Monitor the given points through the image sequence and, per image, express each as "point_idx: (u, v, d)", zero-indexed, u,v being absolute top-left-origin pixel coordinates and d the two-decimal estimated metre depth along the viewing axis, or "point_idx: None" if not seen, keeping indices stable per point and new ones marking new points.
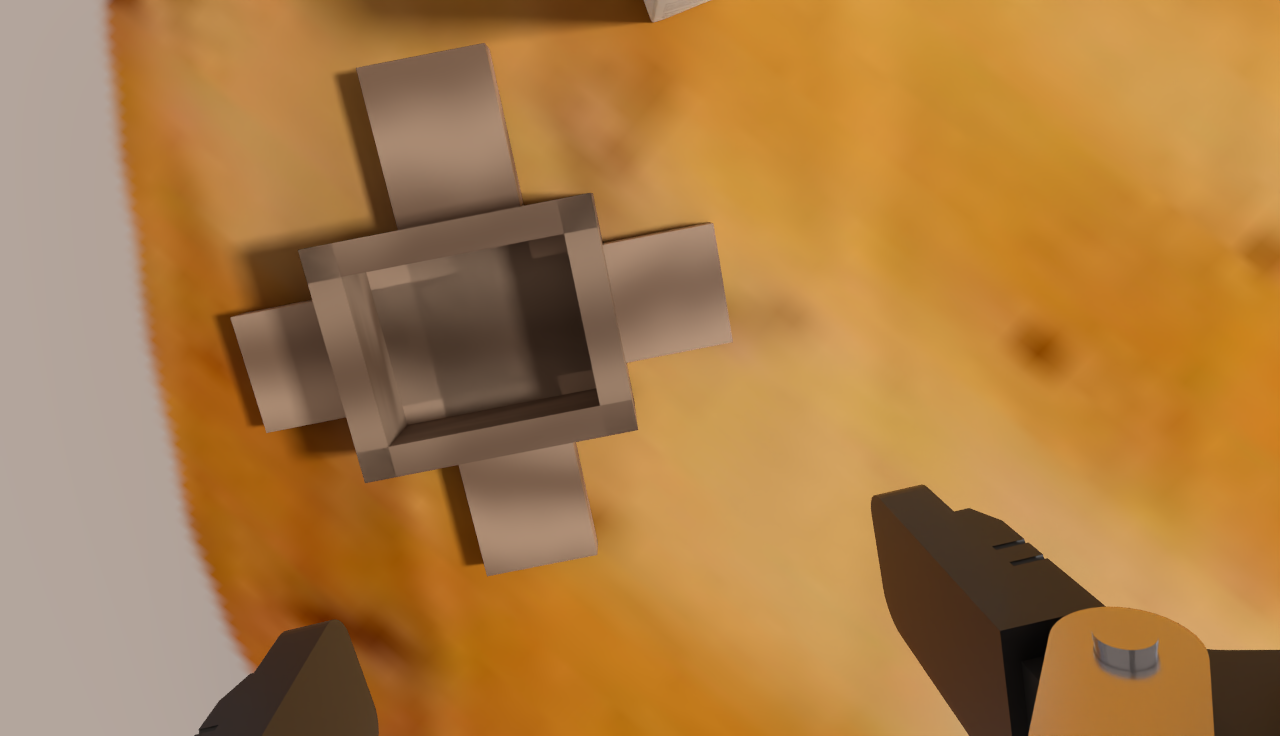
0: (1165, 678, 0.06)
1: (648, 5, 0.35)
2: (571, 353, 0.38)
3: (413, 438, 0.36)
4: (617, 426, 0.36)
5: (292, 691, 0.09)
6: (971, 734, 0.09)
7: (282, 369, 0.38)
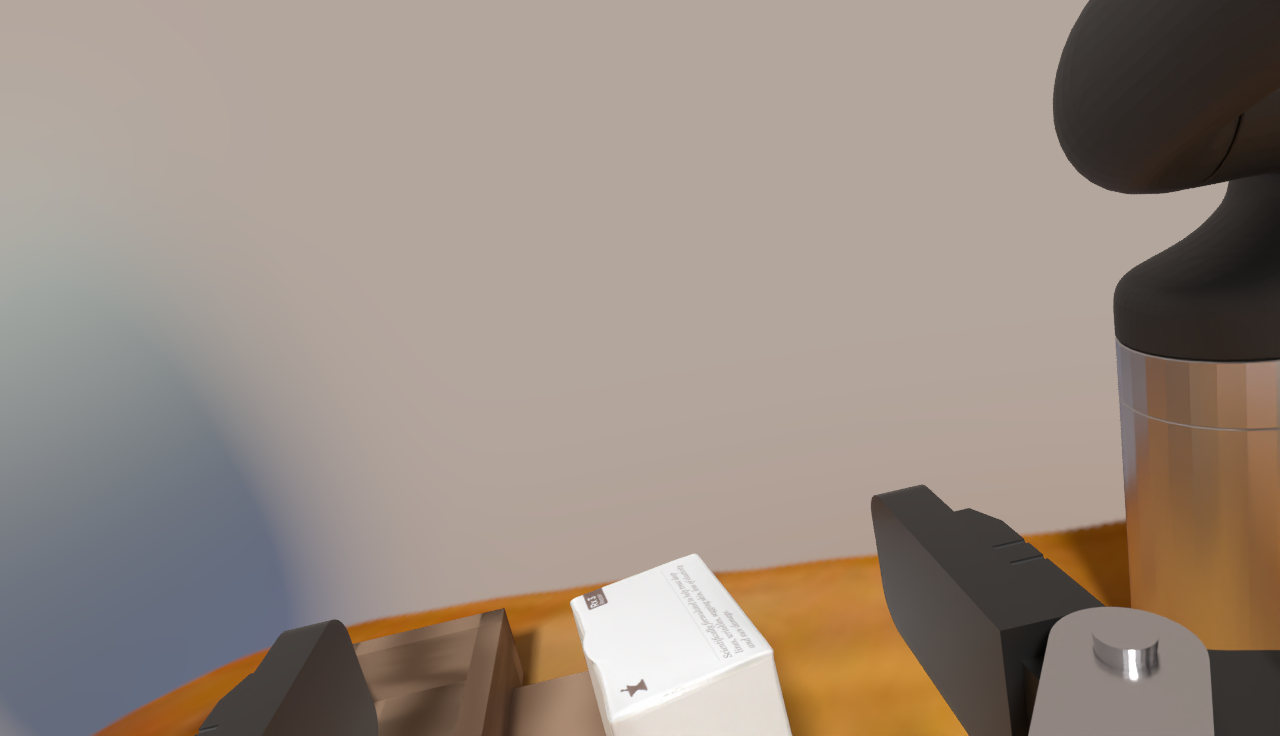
0: (1165, 678, 0.06)
1: None
2: None
3: None
4: None
5: (292, 691, 0.09)
6: (971, 734, 0.09)
7: None
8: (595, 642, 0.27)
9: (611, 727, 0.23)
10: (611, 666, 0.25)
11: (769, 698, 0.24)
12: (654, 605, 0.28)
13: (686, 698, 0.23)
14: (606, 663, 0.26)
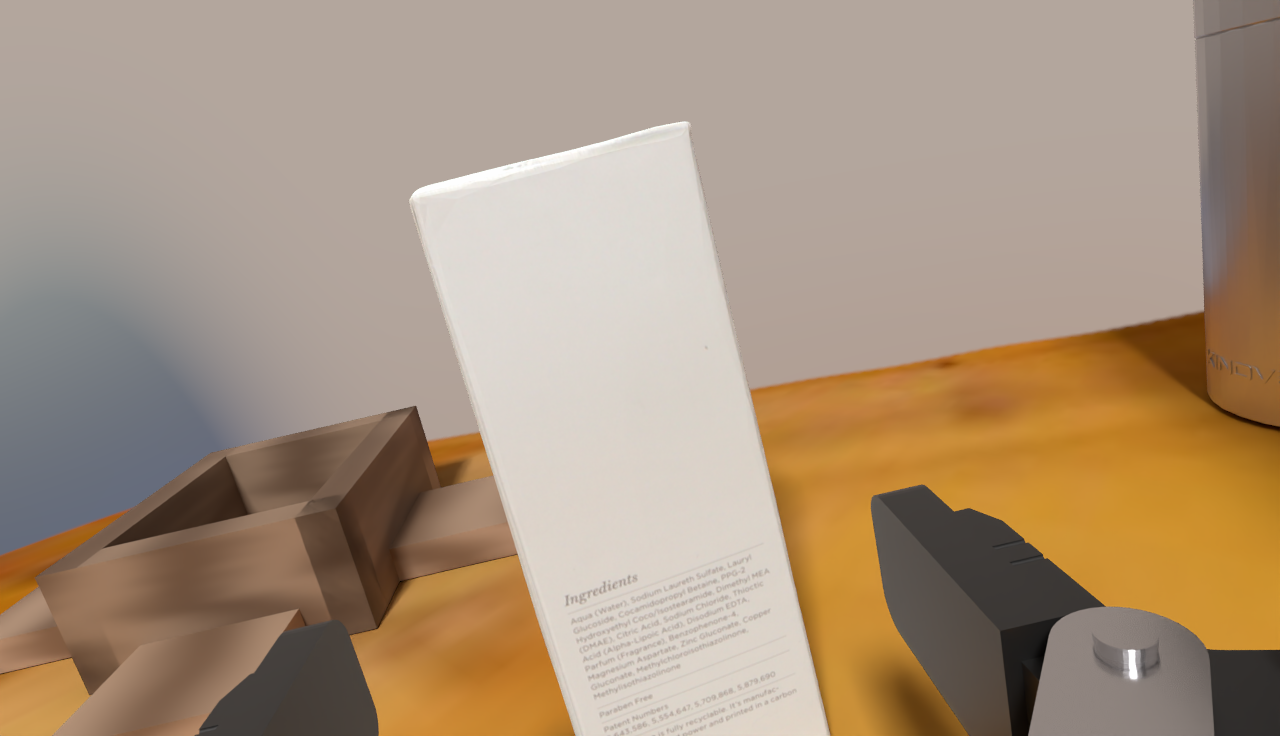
0: (1165, 678, 0.06)
1: None
2: None
3: (220, 476, 0.38)
4: (61, 563, 0.28)
5: (292, 691, 0.09)
6: (971, 734, 0.09)
7: None
8: None
9: (413, 211, 0.14)
10: None
11: (683, 205, 0.15)
12: None
13: (542, 176, 0.14)
14: None
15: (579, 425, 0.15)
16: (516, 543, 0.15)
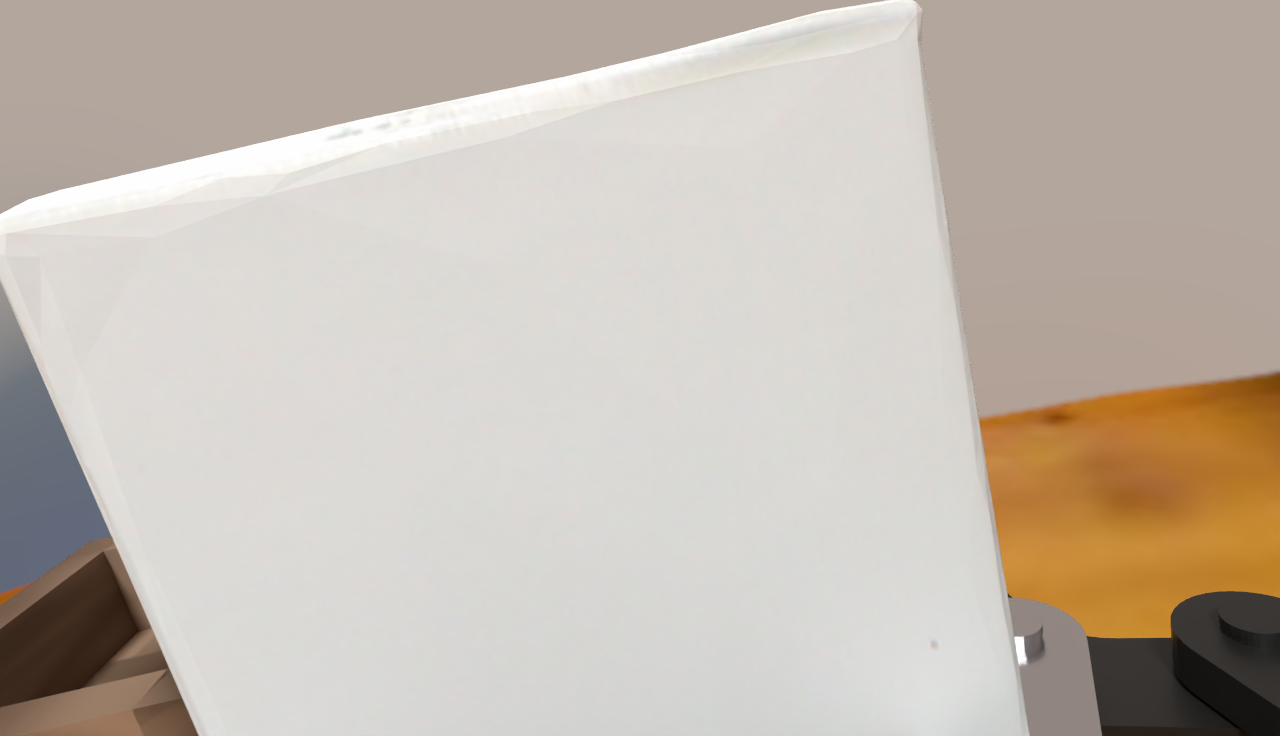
0: (1044, 663, 0.07)
1: None
2: None
3: (92, 580, 0.28)
4: None
5: None
6: None
7: None
8: None
9: None
10: None
11: (895, 250, 0.05)
12: None
13: (460, 160, 0.04)
14: None
15: None
16: None
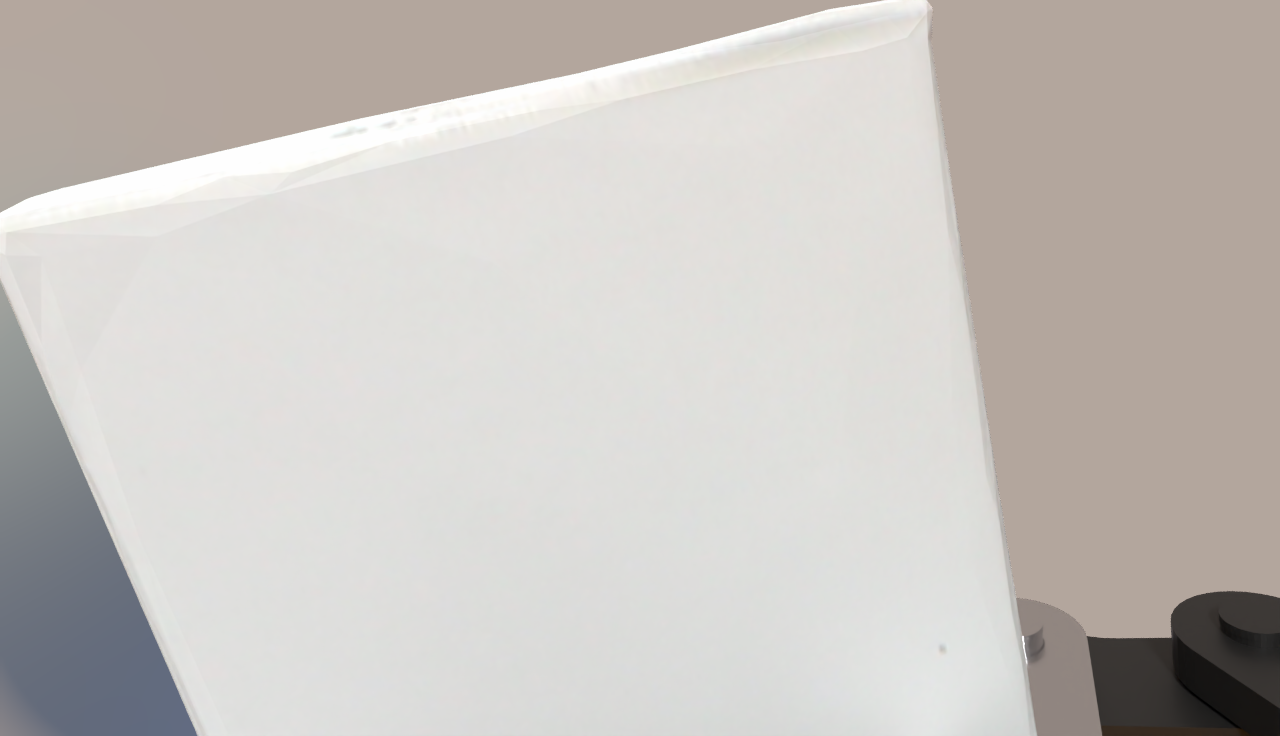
0: (1045, 663, 0.07)
1: None
2: None
3: None
4: None
5: None
6: None
7: None
8: None
9: (0, 279, 0.04)
10: None
11: (904, 251, 0.05)
12: None
13: (465, 159, 0.04)
14: None
15: None
16: None
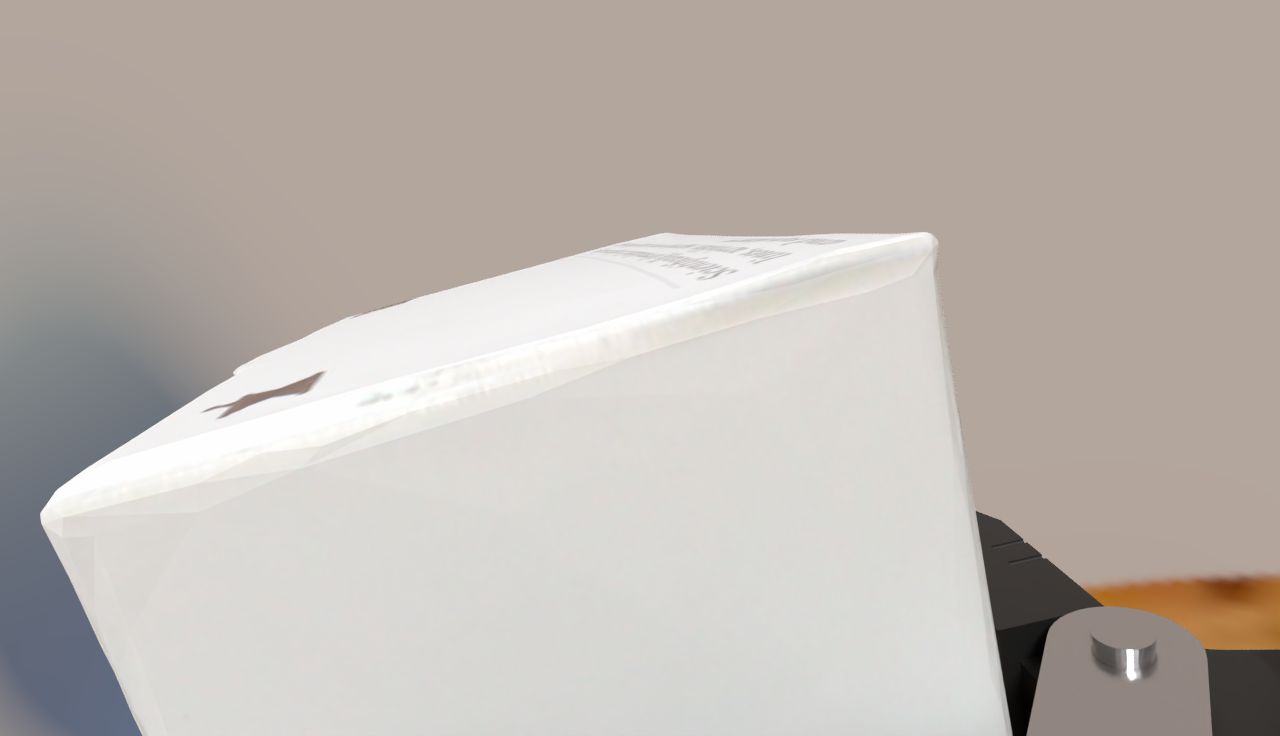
0: (1163, 677, 0.06)
1: None
2: None
3: None
4: None
5: None
6: None
7: None
8: (290, 347, 0.08)
9: (57, 550, 0.04)
10: (262, 368, 0.06)
11: (907, 475, 0.05)
12: (514, 277, 0.09)
13: (485, 423, 0.04)
14: (256, 366, 0.07)
15: None
16: None
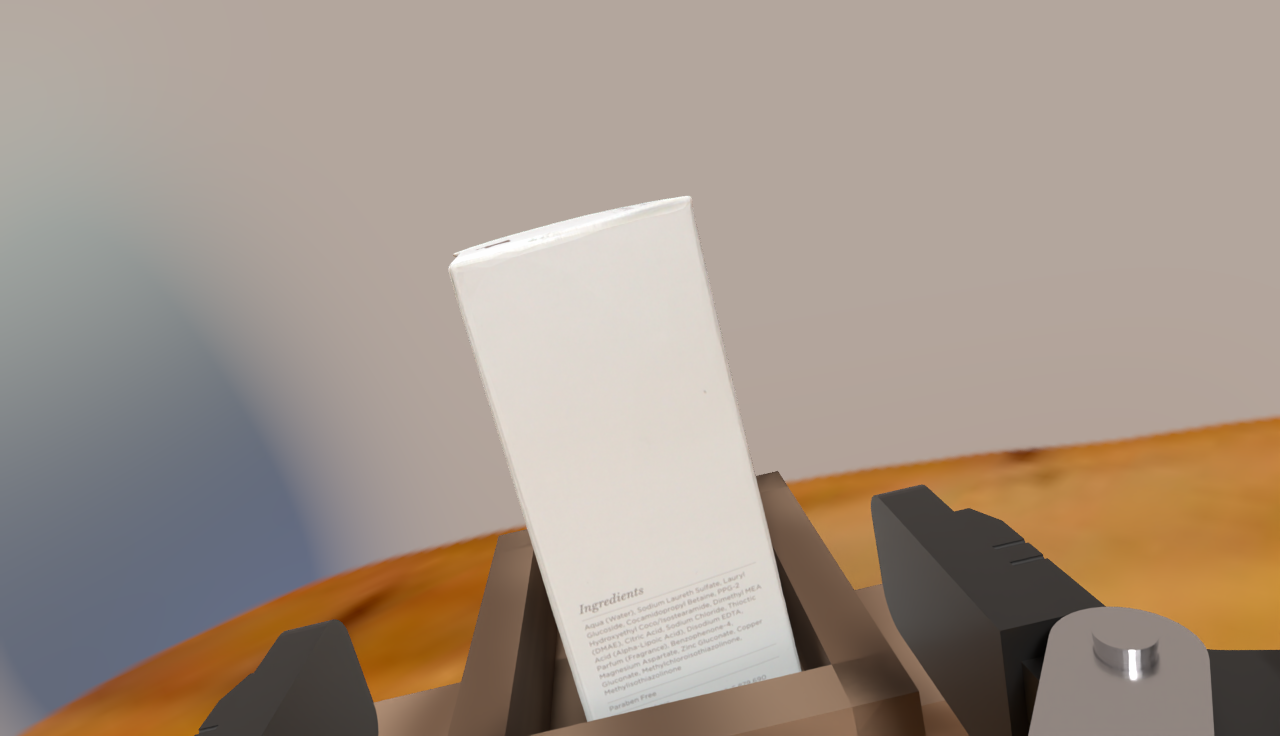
0: (1165, 678, 0.06)
1: None
2: None
3: (536, 575, 0.27)
4: None
5: (292, 691, 0.09)
6: (971, 734, 0.09)
7: None
8: (469, 248, 0.20)
9: (452, 277, 0.16)
10: (476, 246, 0.18)
11: (685, 268, 0.17)
12: None
13: (562, 246, 0.16)
14: (471, 247, 0.19)
15: (592, 459, 0.17)
16: (538, 559, 0.18)
